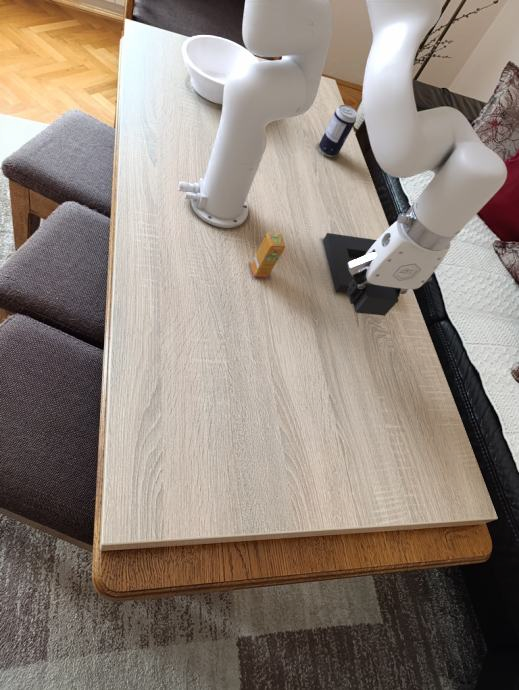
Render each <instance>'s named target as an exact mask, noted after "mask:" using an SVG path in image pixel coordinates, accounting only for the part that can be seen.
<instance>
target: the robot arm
mask: <svg viewBox="0 0 519 690" xmlns="http://www.w3.org/2000/svg"><path fill="white" fill-rule="evenodd" d="M365 3H366V8H367V14H368V18H369V23H370V27H371V34H372V43H371V47H370V50H369V53H368V56H367V60H366V64H365V70H364V76H363V83H362V91H361V92H362V93H361V104H362V105H361V107H362V112H363V118H364V123H365V126H366V132H367V136H368V140H369V144H370V147H371V151H372V153H373V156H374V158H375V161H376V162H377V164H378V166H379V167H380V169H382V171H383V172H384V173H386V174H387V175H388V176H390V177H394V178H396V179H397V178H398V179H406V178H411V177H414V176H417V175H421V174H423V173H425V172H433V174H434V176H433V177H432V179H431V180H430V181H429V182H428V184H427V185H426V187H425V188H424V189H423V191H422V192H421V193H420V195H418V197H416V200H415V201H414V202H413V204H412V205H411V206H410V207H409V208H408V210H407V211H406V213H400V214H398V216H397V220H396V221H394V222H393V224H391V225H390V226H389V227H388V228H386V229H385V230H384V232H383V233H382V234H381V235H380V236H379V237H378V238H377V239H375V240H376V242H375V243H374V244H373V245H372V246H371V248H370V249H369V250H368V252H367V253H366V254H365V256H363V257H360V258H355V259H353V260H350V262H348V263H347V265H348V269H349V272H350V273H351V275H352V276H353V278H354V281H353V283H352V284H351V285H350V286H349V288H348V290H347V293H346V294H347V295H348V298H349V303H350V304H351V305H353V304H355V303H356V302H357V301H358V299H359V298H360V297H361V296H362V294H363V293H364V292H365V287H367V286H368V285H370V284H374V285H380V286H387V287H394V288H395V291H396V294H397V298H398V299H399V297H400V296H401V295H406V294H407V293H408V290H417V289H419V288H421V287H422V286H423V285H424V284H426V283H429V282H431V281H432V275H433V274H434V273H435V272H436V270H437V269H438V268H439V266H440V265H441V263H442V262H443V260H444V259H445V258H446V256H447V254H448V252H449V250H450V248H451V243H452V242H453V240H454V239H455V238H456V237H457V236H458V235H459V233H460V232H461V231H462V230H463V229H464V228H465V227H466V226H467V225H468V224H469V223H470V222H471V221H472V219H473V218H474V217H476V215H477V214H479V212H480V211H481V210H482V209H483V208H484V207H485V205H487V203H488V202H489V201H490V200H491V199H492V198H493V197H494V196H495V195H496V194H497V193H498V192H499V190H500V189H501V188H502V187H503V186H504V184H505V183H506V180H507V177H508V169H507V166H506V163H505V162H504V160H503V159H502V158H501V156H499V155H498V153H497V152H495V151H494V150H493V149H491V148H490V147H487V146H486V145H485V143H484V142H483V141H482V140H481V138H480V137H479V135H478V133H477V132H476V131H475V129H474V128H473V126H472V125H471V122H470V121H469V120H468V118H467V117H466V116H465V115H464V114H463V113H462V112H461V111H460V110H458V109H456V108H455V107H452V106H438V107H434V108H430V109H424V110H420V111H418V109H417V104H416V99H415V93H414V85H413V72H414V64H415V59H416V56H417V52H418V50H419V48H420V45H421V44H422V43H423V41H424V38H425V37H426V36H427V35H428V33H429V32H430V31H431V30H432V29H433V27H434V26H435V25H437V22H438V21H439V19H440V17H441V15H442V10H443V9H442V8H443V7H442V1H441V0H365ZM241 26H242V28H241V31H242V32H241V36H242V41H243V44H244V46H245V49H247V50H248V51H249V52H251V53H252V54H253V55H254V56H256V57H260V58H278V57H279V58H281V59H275V60H263V61H259V62H253V63H248V64H244V65H242V66H239V67H237V68H236V69H234V70H233V71H232V72H231V73H230V74H229V76H228V77H227V79H226V82H225V86H224V94H223V104H222V108H221V115H220V119H219V120H220V121H219V125H218V128H217V132H216V136H215V139H214V143H213V146H212V150H211V154H210V157H209V161H208V164H207V168H206V171H205V175H204V178H203V177H200V178H199V181H198V182H193V183H189V182H186V181H181V180H180V181H179V182H178V184H177V185H178V186H177V190H178V191H179V192H185V193H184V199H185V200H190V204H191V208H192V210H193V211H194V213H195V214H196V215H197V217H199V219H201V220H203V221H204V222H205V223H207V224H209V225H211V226H214V227H218V228H223V229H232V228H236V227H239V226H240V225H242V224H244V223H245V221H246V220H247V217H248V215H249V205H248V202H247V198H248V195H249V192H250V190H251V187H252V185H253V182H254V179H255V177H256V174H257V172H258V170H259V167H260V164H261V162H262V159H263V158H264V157H263V156H264V154H265V151H266V147H267V135H266V131H265V130H266V126H267V125H268V124H270V123H273V122H277V121H281V120H286V119H290V118H294V117H295V118H296V117H299V116H301V115H303V114H305V113H306V112H308V111H309V110H310V109H311V107H312V106H313V104H314V103H315V100H316V97H317V94H318V92H319V87H320V83H321V78H322V76H323V73H324V69H325V65H326V60H327V57H328V54H329V48H330V45H331V40H332V36H333V31H334V16H333V10H332V5H331V2H330V0H245V1H244V9H243V17H242V25H241ZM178 191H177V192H178ZM364 275H366V279H364V277H363V276H364Z"/></svg>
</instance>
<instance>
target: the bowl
mask: <svg viewBox="0 0 519 690" xmlns="http://www.w3.org/2000/svg"><path fill="white" fill-rule="evenodd" d="M181 52H182V56H183V62H184V65H185V69H186V70H187V72H188V74H189V75H190V82H191V86H192V88H193V89H194V90H195V92H196V93H197V94H198V95H199V96H201V97H202V98H203V99H205V100H207V101H210V102H212V103H214V104H218V105H223V94H224V86H225V82H226V79H227V77H228V76H229V74H230V73H231V72H232V71H233V70H234V69H236V68H237V67H239V66H242V65H244V64H248V63H253V62H260V60H259V59H258V58H257V56H256V55H254V54H252V53H251V52H250V51H249V50H248V49H247V48H246V47H244V46H242V45H240V44H238V43H237V42H235V41H232V40H230V39H227V38H224V37H220V36H216V35H209V34H207V35H206V34H198V35H193V36H191V37H189V38H187V39H186V40H185V41H184V42H183V45H181Z"/></svg>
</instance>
